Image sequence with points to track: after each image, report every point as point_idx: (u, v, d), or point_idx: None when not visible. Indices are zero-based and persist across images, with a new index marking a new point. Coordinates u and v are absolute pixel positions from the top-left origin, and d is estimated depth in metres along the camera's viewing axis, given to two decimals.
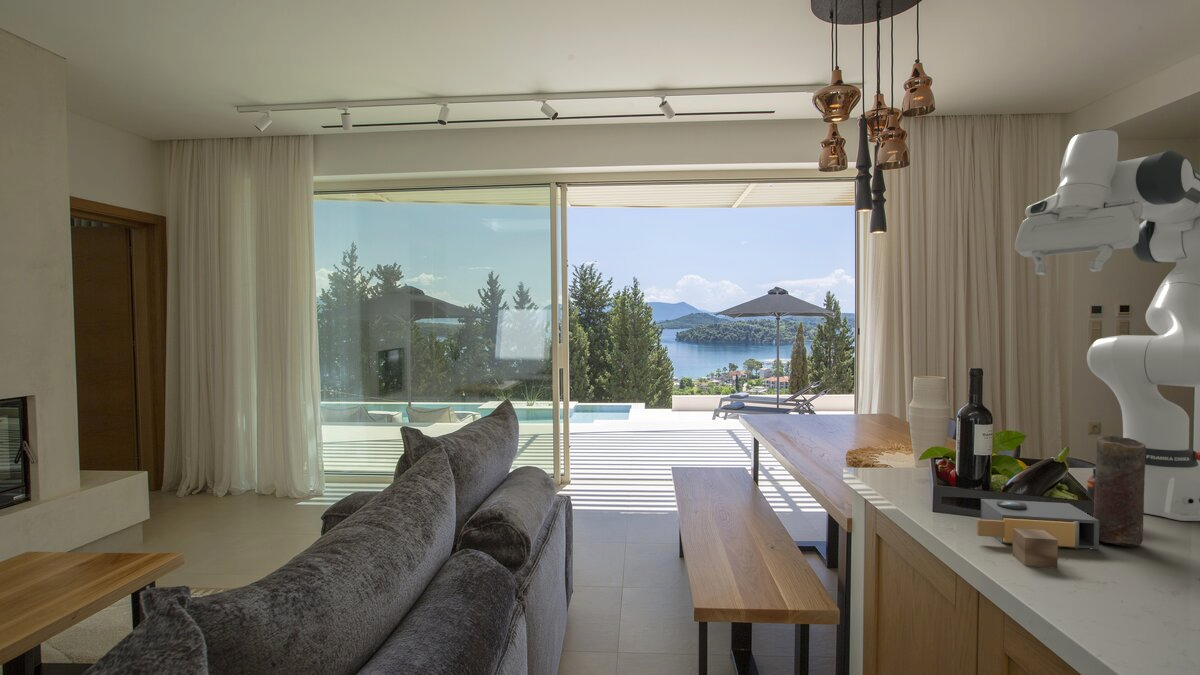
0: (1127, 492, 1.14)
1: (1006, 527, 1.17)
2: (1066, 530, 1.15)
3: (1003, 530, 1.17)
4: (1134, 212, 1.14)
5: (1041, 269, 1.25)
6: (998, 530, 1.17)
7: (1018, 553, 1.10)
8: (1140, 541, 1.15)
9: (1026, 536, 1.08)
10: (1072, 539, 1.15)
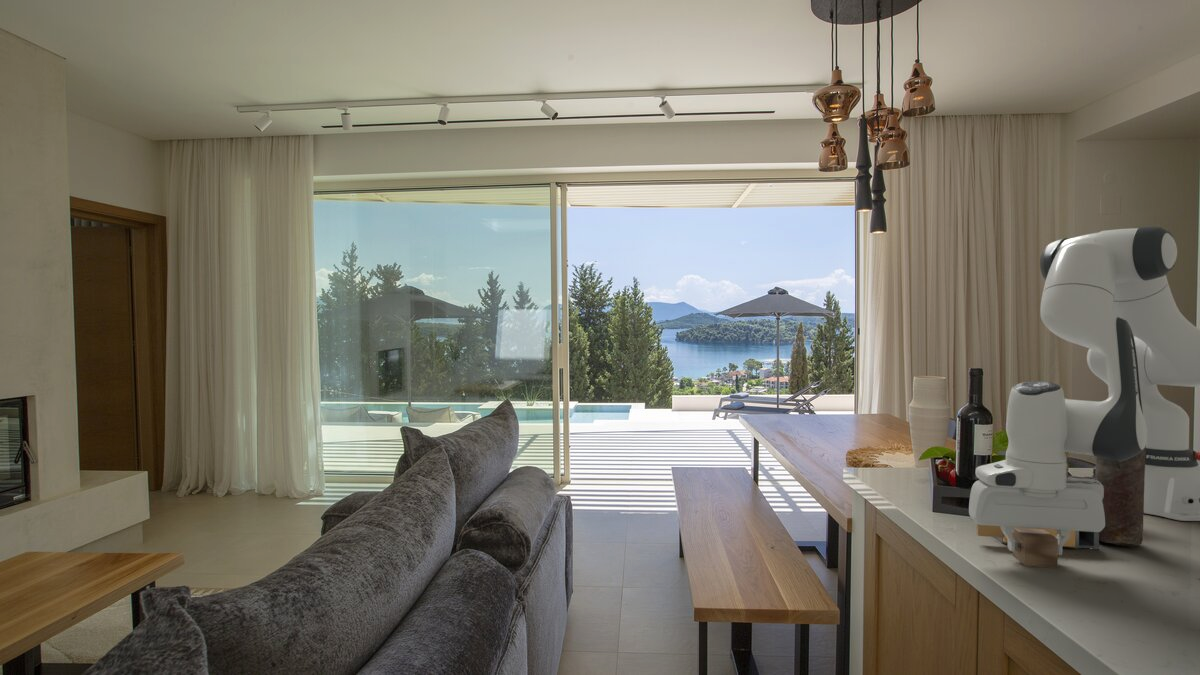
0: (1127, 492, 1.14)
1: None
2: None
3: None
4: None
5: (1019, 549, 1.09)
6: (998, 530, 1.17)
7: (1018, 552, 1.10)
8: (1140, 541, 1.15)
9: (1026, 536, 1.08)
10: (1072, 539, 1.15)
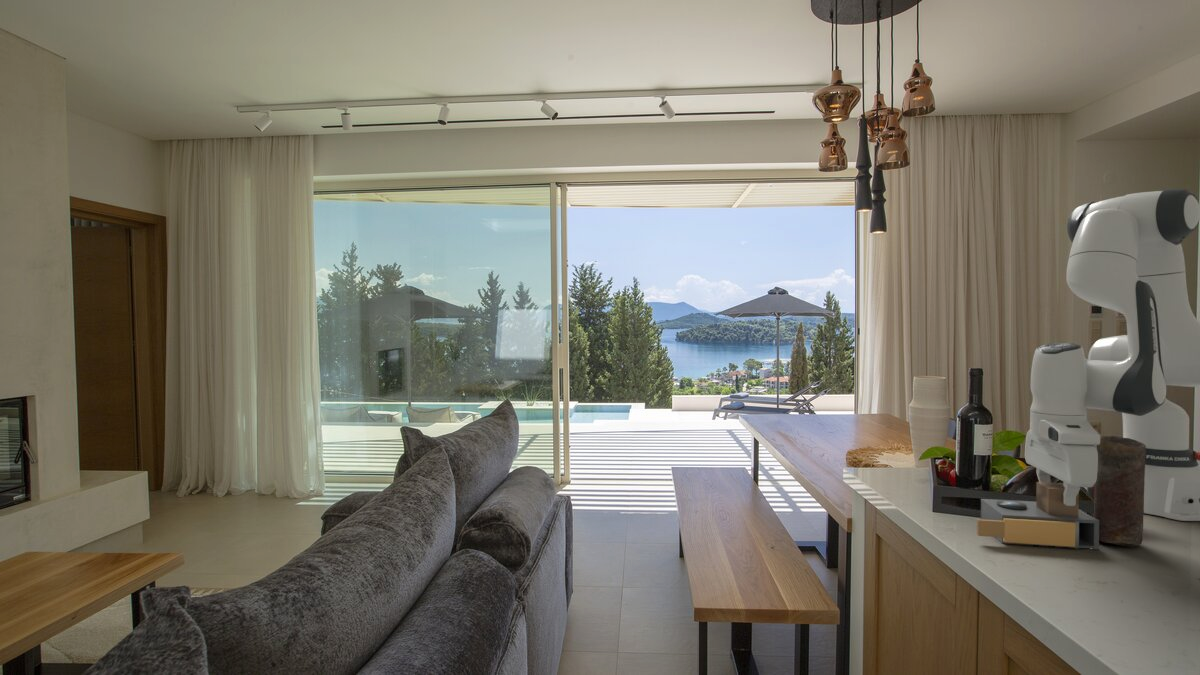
0: (1127, 492, 1.14)
1: (1006, 527, 1.17)
2: (1066, 530, 1.15)
3: (1003, 530, 1.17)
4: None
5: None
6: (998, 530, 1.17)
7: (1062, 508, 1.18)
8: (1140, 541, 1.15)
9: None
10: (1072, 539, 1.15)
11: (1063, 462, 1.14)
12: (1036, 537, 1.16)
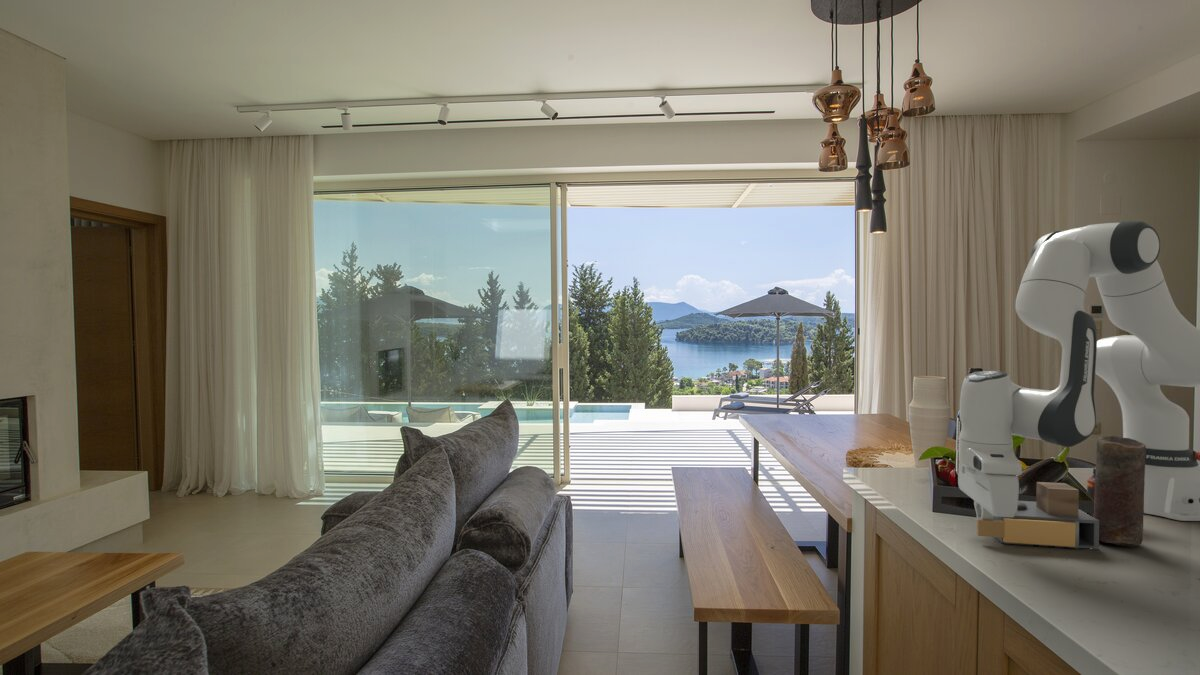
0: (1127, 492, 1.14)
1: (1006, 527, 1.17)
2: (1066, 530, 1.15)
3: (1003, 530, 1.17)
4: None
5: None
6: (998, 530, 1.17)
7: (1062, 508, 1.18)
8: (1140, 541, 1.15)
9: (1073, 489, 1.18)
10: (1072, 539, 1.15)
11: (986, 491, 1.14)
12: (1036, 537, 1.16)
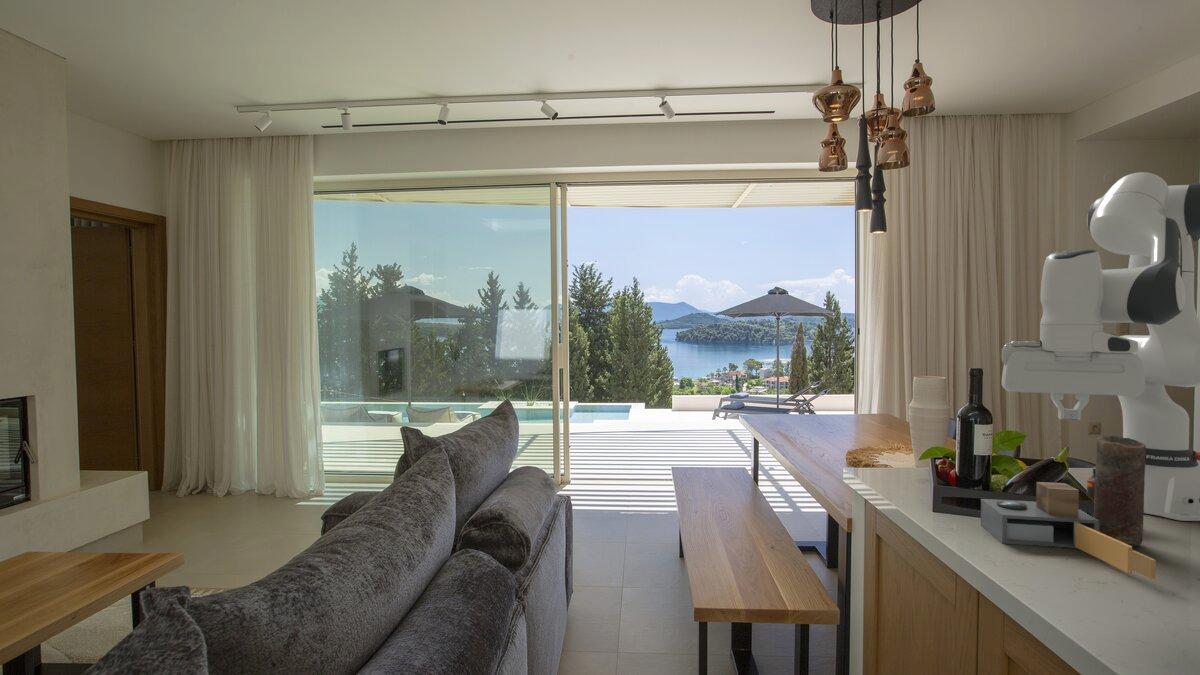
0: (1127, 492, 1.14)
1: None
2: None
3: None
4: None
5: None
6: None
7: (1062, 508, 1.18)
8: (1140, 541, 1.15)
9: (1073, 489, 1.18)
10: None
11: (1117, 374, 1.05)
12: None
